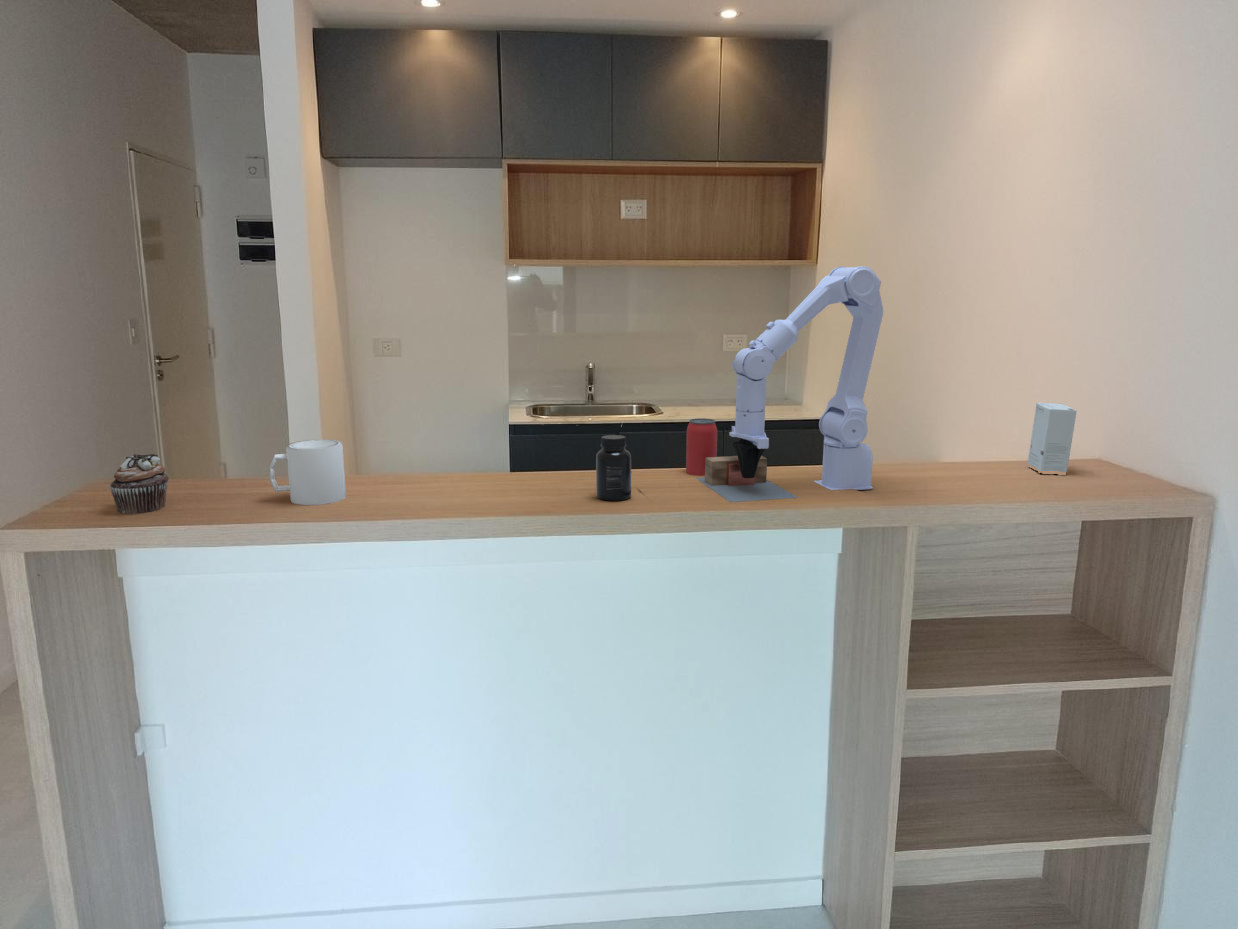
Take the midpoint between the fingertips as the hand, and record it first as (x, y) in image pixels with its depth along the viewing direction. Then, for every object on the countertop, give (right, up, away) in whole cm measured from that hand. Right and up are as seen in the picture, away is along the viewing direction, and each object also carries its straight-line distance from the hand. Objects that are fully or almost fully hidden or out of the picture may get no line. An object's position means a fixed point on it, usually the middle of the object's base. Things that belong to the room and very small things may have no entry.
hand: (748, 477), depth 173 cm
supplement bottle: (-27, -4, -3) cm, 27 cm away
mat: (0, -3, +2) cm, 3 cm away
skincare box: (+69, +1, +19) cm, 72 cm away
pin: (-2, -1, +7) cm, 7 cm away
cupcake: (-114, -6, -12) cm, 115 cm away
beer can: (-8, 0, +15) cm, 17 cm away
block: (-2, -1, +7) cm, 7 cm away
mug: (-85, -4, -5) cm, 85 cm away
